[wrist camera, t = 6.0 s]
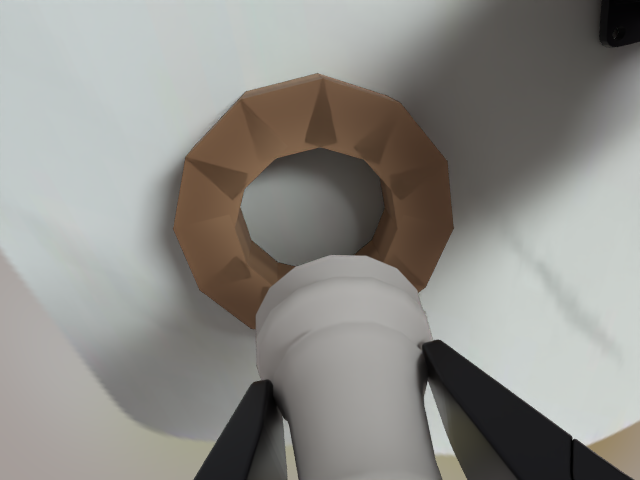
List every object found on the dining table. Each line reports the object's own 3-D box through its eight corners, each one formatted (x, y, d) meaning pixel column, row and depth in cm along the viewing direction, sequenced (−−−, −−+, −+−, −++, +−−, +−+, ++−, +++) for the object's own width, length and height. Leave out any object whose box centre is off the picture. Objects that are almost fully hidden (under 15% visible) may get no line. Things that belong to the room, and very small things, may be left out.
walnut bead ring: (417, 47, 16) (437, 48, 14) (442, 278, 21) (460, 305, 19) (148, 116, 17) (128, 127, 14) (235, 328, 22) (229, 360, 19)
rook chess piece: (349, 400, 13) (433, 872, 6) (223, 335, 11) (115, 859, 4) (452, 300, 11) (742, 754, 4) (323, 211, 10) (425, 673, 3)
